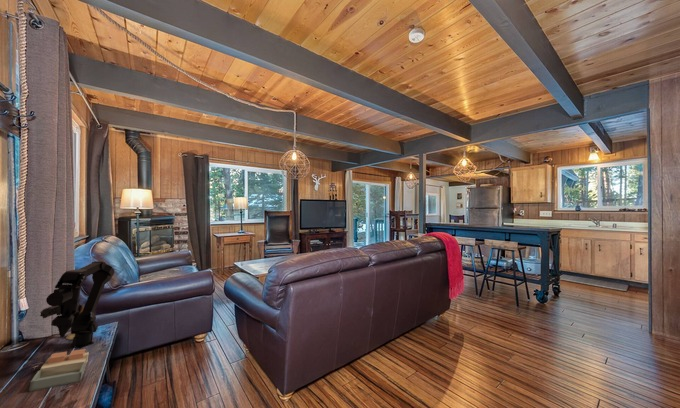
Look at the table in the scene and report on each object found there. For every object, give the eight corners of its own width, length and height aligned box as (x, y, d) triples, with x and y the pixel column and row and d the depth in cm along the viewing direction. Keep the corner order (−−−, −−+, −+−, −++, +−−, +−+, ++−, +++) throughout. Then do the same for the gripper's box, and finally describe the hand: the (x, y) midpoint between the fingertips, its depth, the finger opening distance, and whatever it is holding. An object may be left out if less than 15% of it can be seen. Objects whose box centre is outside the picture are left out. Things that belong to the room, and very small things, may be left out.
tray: (36, 380, 105) (38, 370, 105) (84, 371, 113) (85, 362, 113) (28, 391, 98) (30, 381, 99) (80, 381, 106) (81, 372, 107)
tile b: (51, 358, 113) (52, 353, 114) (66, 356, 116) (67, 351, 116) (48, 363, 110) (49, 358, 110) (63, 361, 112) (64, 356, 112)
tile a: (71, 355, 117) (71, 350, 117) (84, 353, 119) (85, 348, 120) (68, 360, 113) (69, 355, 113) (82, 358, 116) (83, 353, 116)
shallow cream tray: (46, 367, 113) (48, 358, 113) (87, 361, 120) (88, 352, 121) (38, 379, 106) (40, 368, 106) (83, 371, 113) (84, 361, 113)
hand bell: (76, 332, 145) (81, 303, 146) (91, 333, 145) (96, 304, 146) (60, 339, 137) (65, 307, 138) (76, 340, 137) (81, 309, 138)
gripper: (52, 294, 124) (46, 328, 123) (36, 307, 109) (30, 346, 108) (84, 292, 130) (79, 324, 129) (74, 304, 115) (68, 341, 114)
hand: (64, 333), depth 120 cm, fingers open, 8 cm apart
